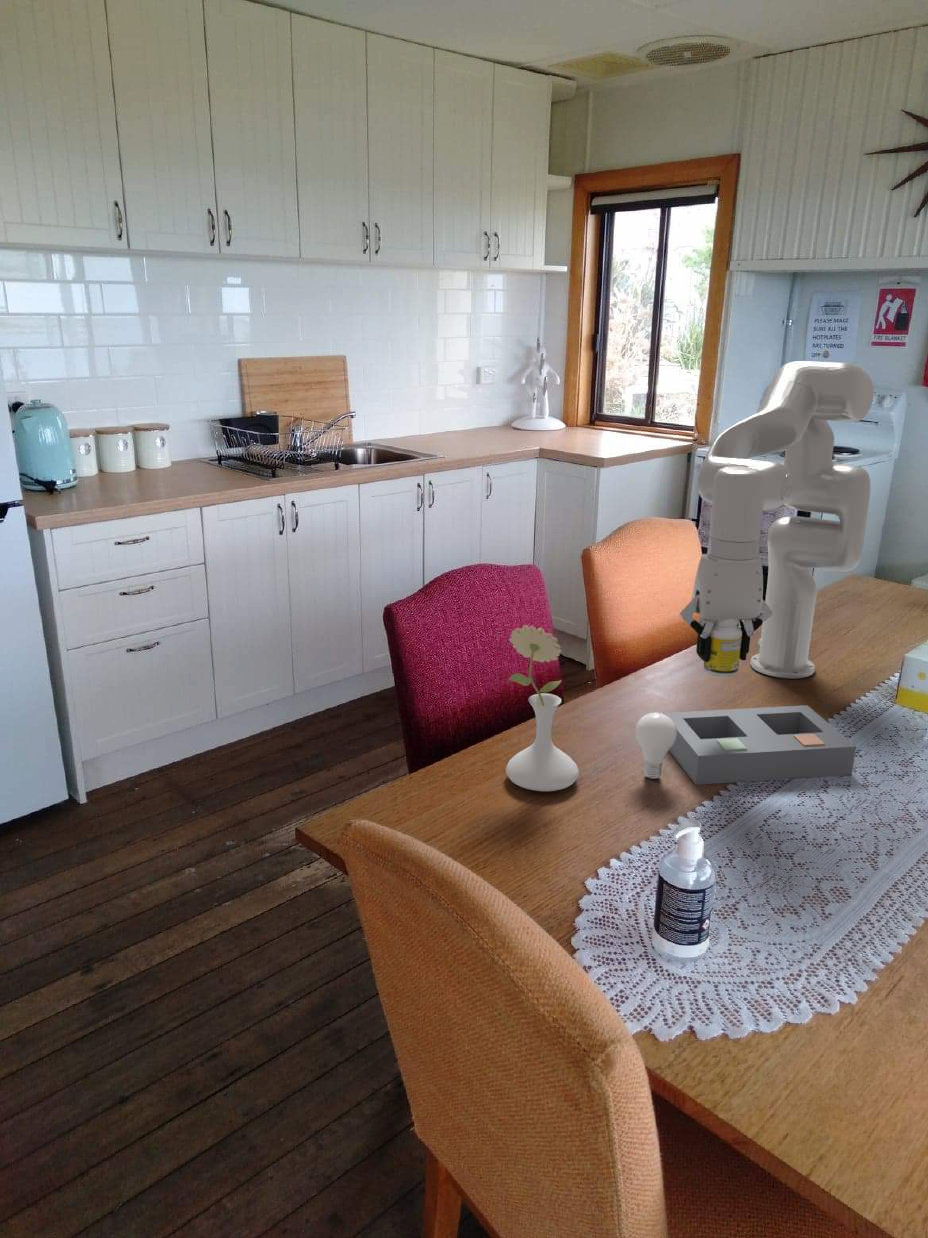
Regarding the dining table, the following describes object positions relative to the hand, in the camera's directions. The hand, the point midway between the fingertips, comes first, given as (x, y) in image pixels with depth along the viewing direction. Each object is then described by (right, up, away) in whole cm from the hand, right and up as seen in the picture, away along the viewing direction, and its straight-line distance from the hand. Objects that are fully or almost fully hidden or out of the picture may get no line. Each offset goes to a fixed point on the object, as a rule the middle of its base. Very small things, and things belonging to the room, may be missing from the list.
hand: (721, 657), depth 148 cm
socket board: (+7, -17, +5) cm, 19 cm away
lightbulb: (-12, -19, -2) cm, 23 cm away
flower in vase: (-30, -19, -3) cm, 35 cm away
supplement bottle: (0, -3, +1) cm, 3 cm away
